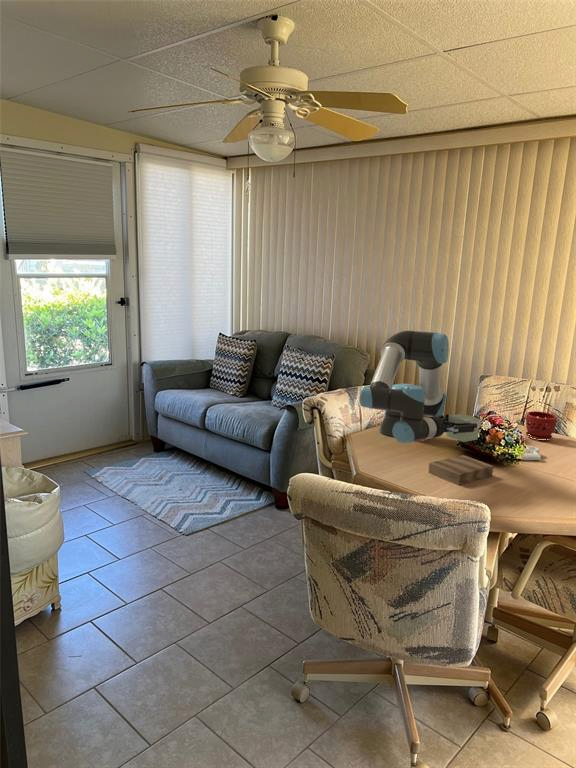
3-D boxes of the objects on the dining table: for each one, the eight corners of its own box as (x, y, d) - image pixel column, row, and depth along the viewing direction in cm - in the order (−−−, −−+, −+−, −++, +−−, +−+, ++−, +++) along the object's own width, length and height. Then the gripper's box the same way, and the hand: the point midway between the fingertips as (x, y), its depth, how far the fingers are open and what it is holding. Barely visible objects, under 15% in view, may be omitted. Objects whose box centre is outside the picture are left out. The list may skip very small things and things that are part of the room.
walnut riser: (461, 464, 228) (463, 455, 227) (492, 475, 216) (493, 465, 216) (428, 472, 216) (429, 462, 215) (458, 485, 205) (459, 474, 204)
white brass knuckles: (505, 461, 236) (491, 450, 250) (547, 462, 237) (531, 451, 251) (506, 453, 235) (492, 443, 249) (549, 455, 236) (532, 444, 251)
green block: (460, 433, 219) (462, 413, 218) (477, 439, 213) (480, 418, 211) (446, 436, 215) (448, 415, 213) (463, 442, 208) (466, 420, 207)
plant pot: (520, 433, 278) (523, 409, 276) (548, 436, 277) (552, 412, 274) (527, 441, 266) (531, 416, 263) (557, 444, 264) (560, 419, 262)
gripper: (406, 430, 211) (447, 423, 224) (451, 446, 194) (492, 438, 207) (408, 410, 209) (449, 405, 222) (454, 424, 193) (495, 418, 206)
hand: (470, 421), depth 215 cm, fingers closed on green block, 8 cm apart
